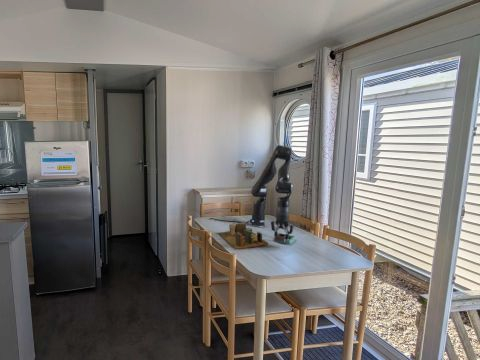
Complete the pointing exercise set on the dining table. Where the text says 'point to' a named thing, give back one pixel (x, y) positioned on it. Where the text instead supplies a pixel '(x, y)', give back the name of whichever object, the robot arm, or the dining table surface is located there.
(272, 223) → the robot arm
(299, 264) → the dining table surface
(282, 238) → the frame
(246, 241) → the brown tray with blocks
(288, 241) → the holder
